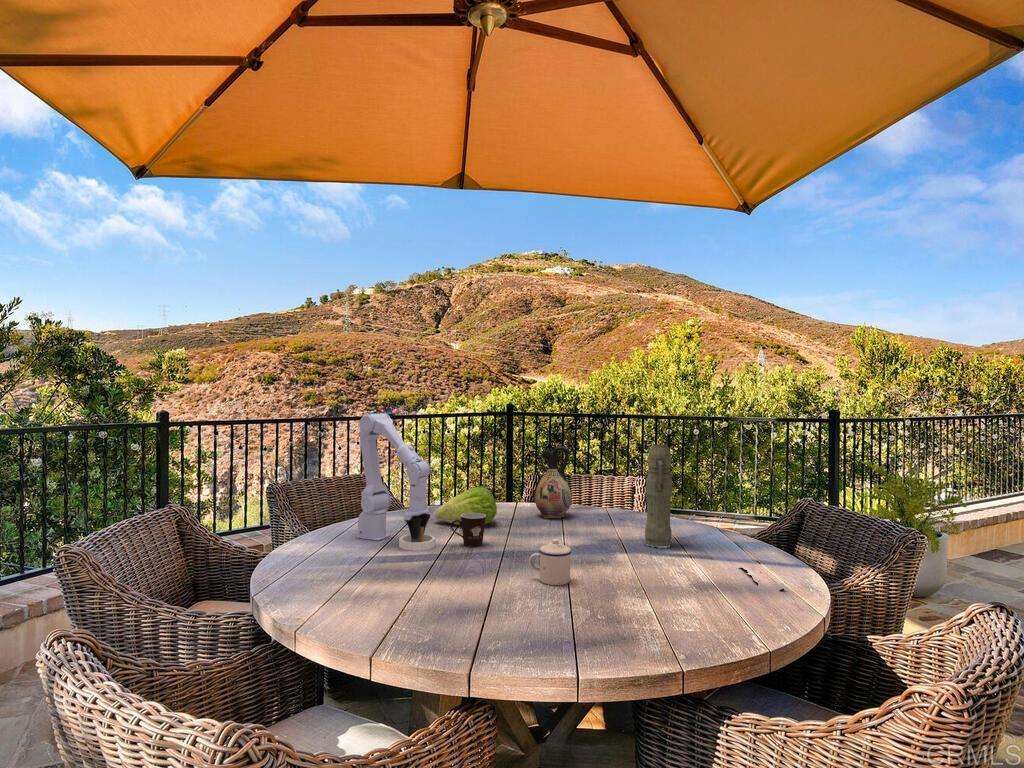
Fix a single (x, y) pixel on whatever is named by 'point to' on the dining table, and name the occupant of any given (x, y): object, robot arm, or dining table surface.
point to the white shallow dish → (416, 543)
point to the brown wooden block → (420, 534)
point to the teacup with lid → (553, 563)
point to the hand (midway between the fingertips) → (417, 536)
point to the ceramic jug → (553, 486)
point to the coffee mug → (472, 529)
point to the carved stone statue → (658, 496)
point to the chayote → (468, 505)
